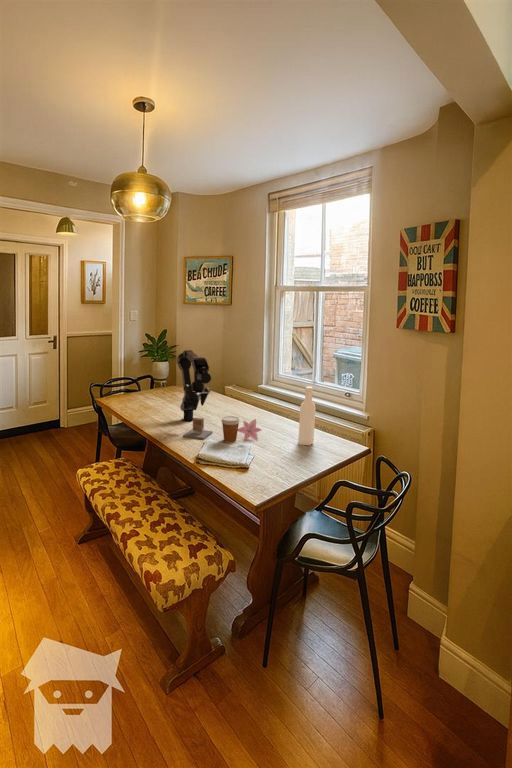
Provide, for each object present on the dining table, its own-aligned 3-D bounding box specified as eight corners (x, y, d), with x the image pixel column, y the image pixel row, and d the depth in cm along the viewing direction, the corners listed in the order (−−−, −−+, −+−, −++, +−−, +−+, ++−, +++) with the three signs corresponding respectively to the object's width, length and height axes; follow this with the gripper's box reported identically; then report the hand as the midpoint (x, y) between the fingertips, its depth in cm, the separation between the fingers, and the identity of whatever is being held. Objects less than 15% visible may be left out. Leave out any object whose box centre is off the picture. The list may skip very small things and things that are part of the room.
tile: (177, 428, 234) (169, 432, 226) (186, 430, 231) (178, 434, 224) (177, 431, 234) (169, 435, 227) (186, 433, 232) (178, 437, 224)
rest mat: (192, 430, 235) (192, 428, 234) (212, 433, 231) (212, 431, 231) (183, 436, 223) (183, 435, 223) (204, 439, 220) (204, 437, 220)
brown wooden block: (195, 431, 229) (195, 417, 228) (203, 432, 228) (203, 418, 226) (192, 433, 226) (192, 419, 225) (201, 434, 225) (201, 420, 224)
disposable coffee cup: (217, 439, 221) (217, 417, 219) (232, 436, 227) (233, 415, 225) (227, 444, 214) (228, 422, 211) (242, 441, 219) (243, 419, 217)
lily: (233, 440, 225) (236, 427, 219) (242, 426, 234) (245, 414, 228) (253, 449, 223) (257, 437, 217) (261, 435, 231) (265, 423, 225)
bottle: (303, 439, 226) (306, 384, 220) (316, 443, 221) (319, 387, 215) (295, 443, 220) (298, 387, 214) (307, 447, 215) (311, 389, 209)
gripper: (192, 376, 245) (192, 402, 249) (178, 381, 228) (178, 409, 231) (210, 377, 242) (210, 404, 246) (197, 383, 225) (197, 411, 228)
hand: (198, 407), depth 238 cm, fingers open, 9 cm apart
